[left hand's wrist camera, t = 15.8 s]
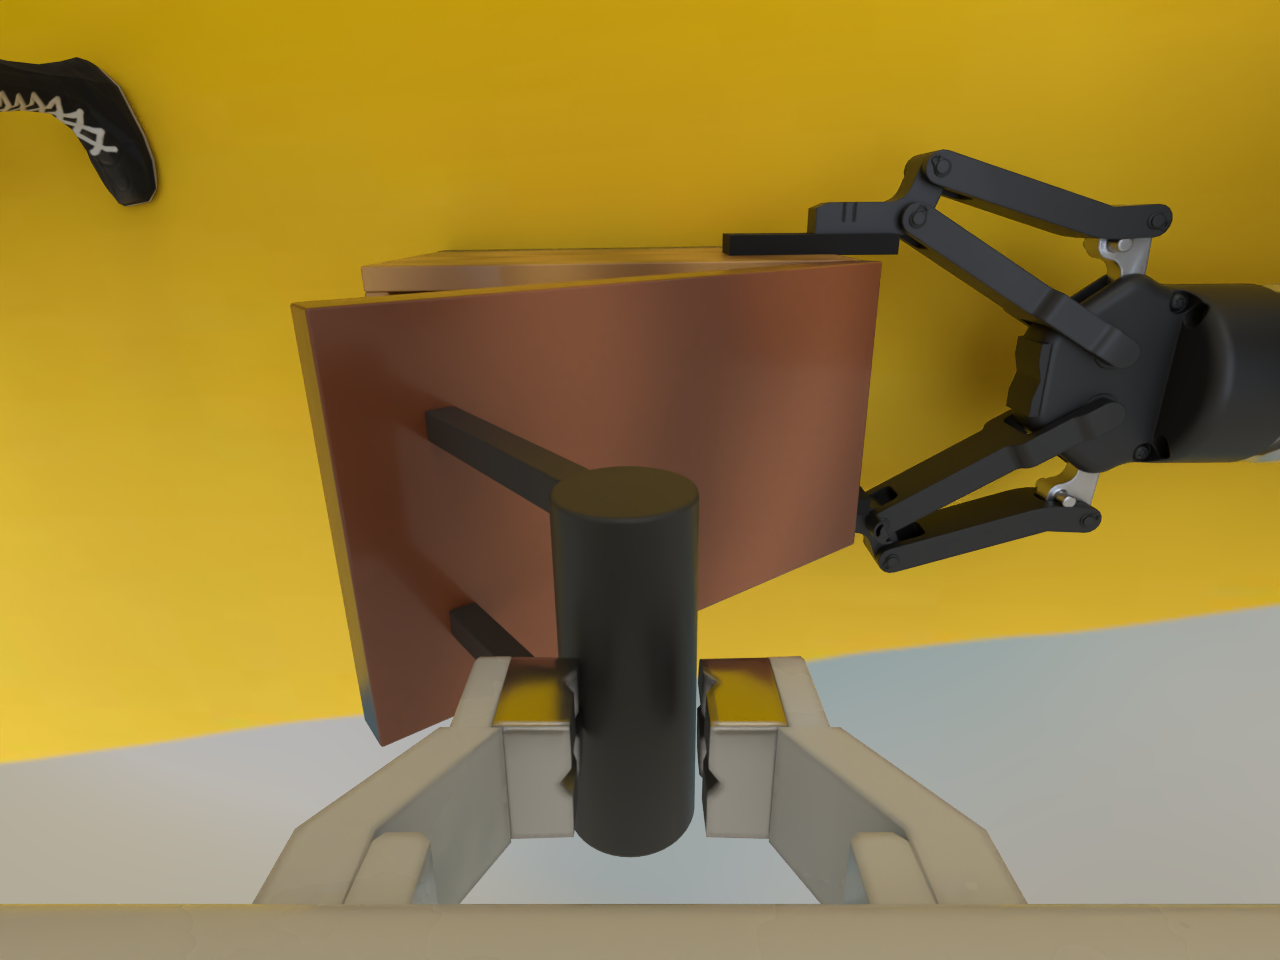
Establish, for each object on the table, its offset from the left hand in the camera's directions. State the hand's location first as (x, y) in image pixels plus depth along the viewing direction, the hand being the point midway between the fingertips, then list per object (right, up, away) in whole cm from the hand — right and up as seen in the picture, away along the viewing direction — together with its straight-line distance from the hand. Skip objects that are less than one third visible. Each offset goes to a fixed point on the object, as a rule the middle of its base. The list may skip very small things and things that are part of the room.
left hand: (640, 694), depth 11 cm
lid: (0, +4, +11) cm, 11 cm away
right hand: (+4, +8, +20) cm, 22 cm away
